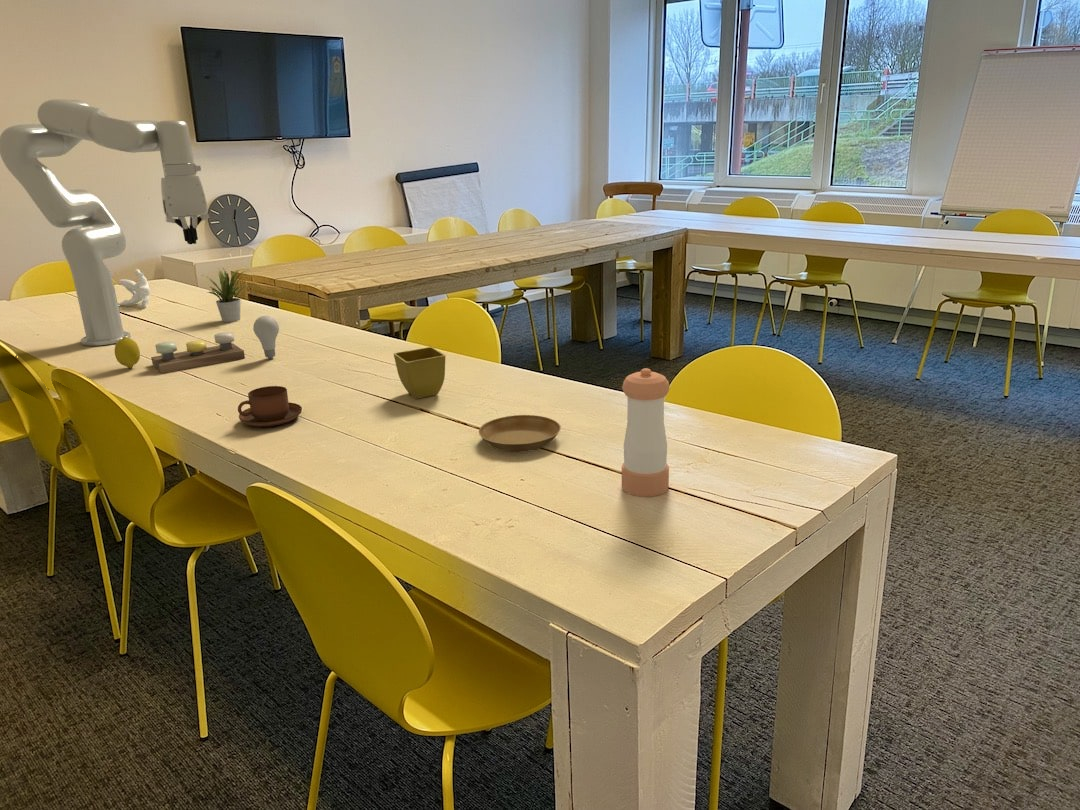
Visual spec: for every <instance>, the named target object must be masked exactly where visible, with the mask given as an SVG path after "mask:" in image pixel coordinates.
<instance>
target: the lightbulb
mask: <svg viewBox="0 0 1080 810" xmlns="http://www.w3.org/2000/svg"><path fill="white" fill-rule="evenodd" d="M252 326H253V327H252V330H253V332H254V335H255V336H256V337H257V339H258V341H259V342H260V344H261V347H262V350H263V352H264V357H265V358H268V359H269V360H272V359H273V358H274V357H275V356H276V347H277V346H276V339H277V336H278V334H279V331H280V325H279V323H278V321H277V320H276V319H275V317H273V316H271V315H270V316H269V315H262V316H261V315H260V317H258V318H257V319H255V321H254V322H253V325H252Z"/></svg>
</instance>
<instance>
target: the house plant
mask: <svg viewBox="0 0 1080 810" xmlns="http://www.w3.org/2000/svg"><path fill="white" fill-rule="evenodd" d="M221 268H222V270H221V269H220V268H218V270H219V271H218V277H219V282H220V283H219V284H220V286H221V288H220V287H219V286H218V285H217V283H216V282H215V281H213V279H211V278H210V277H208V276H206V275H204V274H202V275H201V276H203V277H205V278H206V279H208V280H209V281H210V282H211V283H212V285H214V286H215V287H216V288H217V289H216V288H214V286H210V287H209V288H211V290H212V291H207V292H206V293H209V294H212V295H213V296H215V297H217V298H218V300H216V301H215V303H216V306H217V309H218V312H219V315H220V318H221V320H222V322H223V323H234V321H235V322H239V321H240V320H241V297H240V298H239V297H237V296H238V294H239V293H240V292H241V291H242V289H243V288H244V289H246V286H247V284H246V285H244V286H239V287H237V286H238V283H239V282H240V280H241V279H243V278H244V277H246V275H244V276H241V275H242V274H243V273H245V272H249V271H250V269H249V270H244V271H242V272H240V273H238V271H240V269H237V270H235V271H234V273H233V274H232V275H231V277H229V273H228V272H227V271H226V270H225V268H224V267H223V266H222V267H221ZM222 271H223V272H222ZM240 276H241V277H240ZM239 277H240V278H239ZM238 278H239V279H238ZM237 280H238V281H237ZM238 320H239V321H238Z"/></svg>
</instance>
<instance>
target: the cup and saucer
mask: <svg viewBox="0 0 1080 810" xmlns="http://www.w3.org/2000/svg"><path fill="white" fill-rule="evenodd" d="M247 397H248V399H247V400H244V401H242V402H240V403H239V405H238V407H237V411H238V413H239V415H238V419H239V421H240V422H241V423H243V424H245V425H247V426H252V427H259V428H260V427H261V428H262V427H273V426H275V427H276V426H279V425H283V424H286V423H289V422H292V421H293V420H295V419H297V418H298V417H299V416H300V415H301V413H302V410H303V408H302V405H300V404H298V403H295V402H289V396H288V389H287V388H286V387H284V386H279V385H269V386H263V387H262V386H261V387H258V388H255V389H252V390H251V391H249V392H248V393H247ZM245 405H249V408H246V409H243V411H242V408H243V406H245Z"/></svg>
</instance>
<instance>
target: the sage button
mask: <svg viewBox="0 0 1080 810" xmlns="http://www.w3.org/2000/svg"><path fill="white" fill-rule="evenodd" d="M155 351H156V353H157V354H160V356H161V355H162V361H168V360H174V353H176V351H178V348H177V344H176V342H175V341H165V342H159V343H157V344H155Z"/></svg>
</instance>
